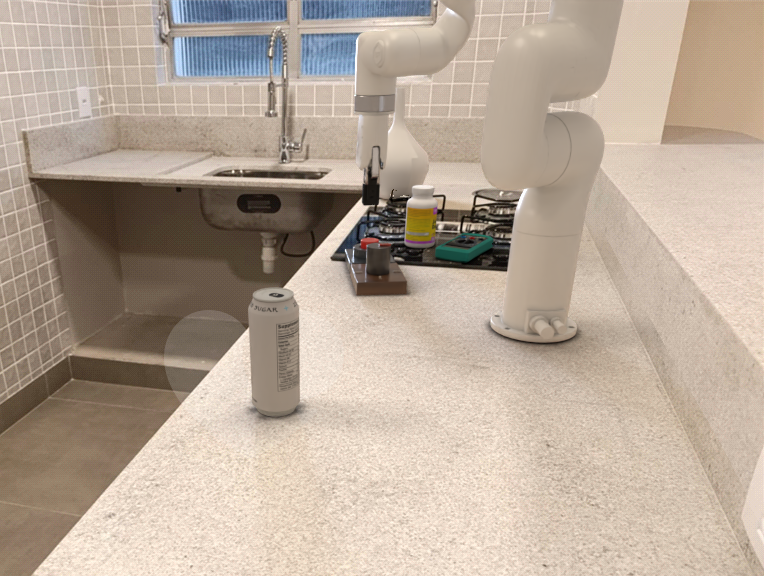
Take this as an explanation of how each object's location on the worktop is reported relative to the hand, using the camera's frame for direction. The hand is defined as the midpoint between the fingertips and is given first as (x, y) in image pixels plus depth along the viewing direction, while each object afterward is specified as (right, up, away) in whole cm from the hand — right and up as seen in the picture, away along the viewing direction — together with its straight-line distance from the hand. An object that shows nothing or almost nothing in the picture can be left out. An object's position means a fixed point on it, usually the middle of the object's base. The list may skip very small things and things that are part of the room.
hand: (370, 204), depth 138 cm
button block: (+1, -11, +5) cm, 12 cm away
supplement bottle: (+14, -5, +18) cm, 23 cm away
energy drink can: (-20, -39, -50) cm, 66 cm away
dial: (0, -15, -8) cm, 17 cm away
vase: (+19, +20, +69) cm, 74 cm away
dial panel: (0, -17, -7) cm, 18 cm away
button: (0, -8, +4) cm, 9 cm away
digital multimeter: (+22, -8, +11) cm, 25 cm away
